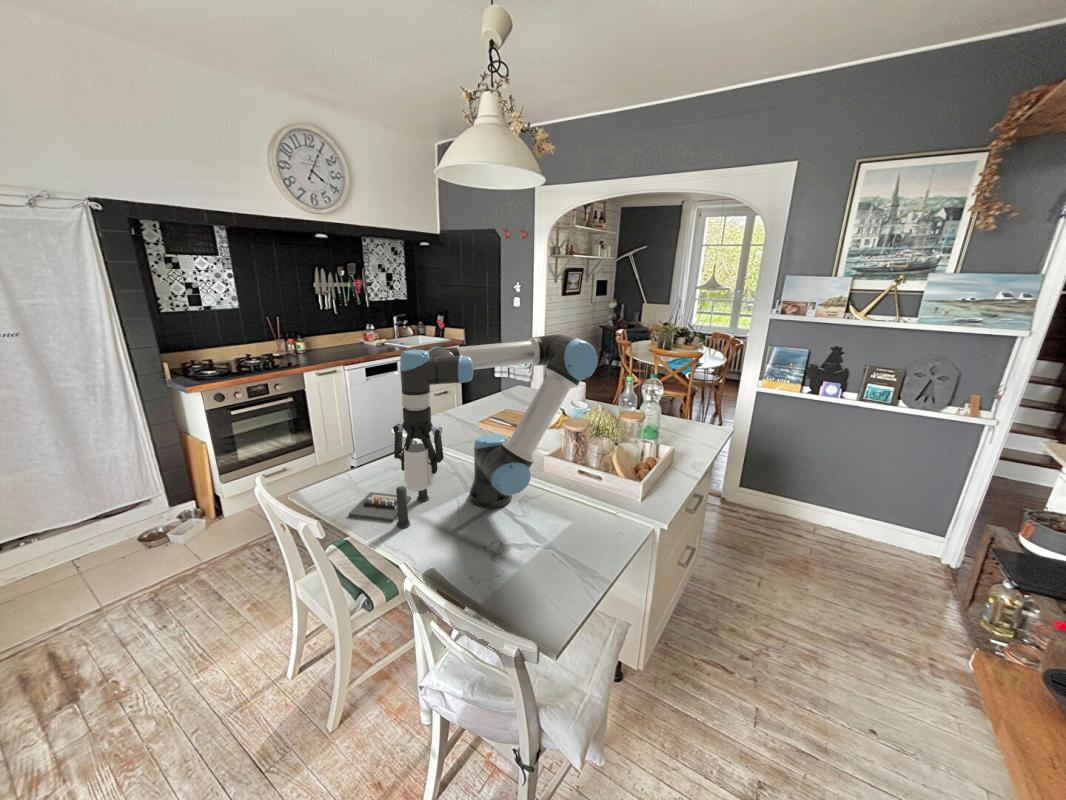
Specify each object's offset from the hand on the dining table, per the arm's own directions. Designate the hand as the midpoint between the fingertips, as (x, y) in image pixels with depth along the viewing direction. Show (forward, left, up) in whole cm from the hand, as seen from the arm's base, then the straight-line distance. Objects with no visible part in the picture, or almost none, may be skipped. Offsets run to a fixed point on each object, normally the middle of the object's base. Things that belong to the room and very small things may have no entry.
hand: (420, 481), depth 123 cm
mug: (-1, 0, -1) cm, 1 cm away
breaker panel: (+19, -12, -18) cm, 29 cm away
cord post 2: (+8, -20, -18) cm, 28 cm away
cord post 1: (+8, -4, -18) cm, 20 cm away
